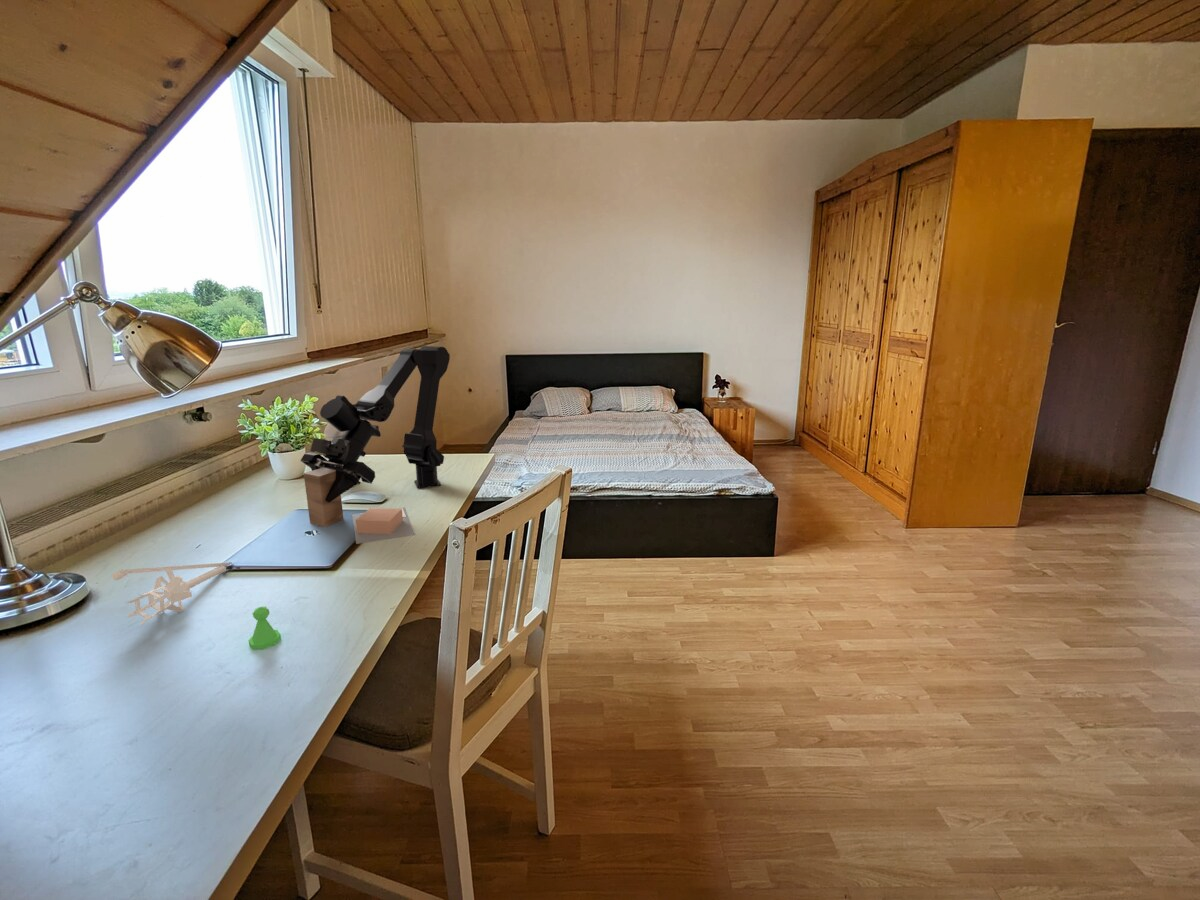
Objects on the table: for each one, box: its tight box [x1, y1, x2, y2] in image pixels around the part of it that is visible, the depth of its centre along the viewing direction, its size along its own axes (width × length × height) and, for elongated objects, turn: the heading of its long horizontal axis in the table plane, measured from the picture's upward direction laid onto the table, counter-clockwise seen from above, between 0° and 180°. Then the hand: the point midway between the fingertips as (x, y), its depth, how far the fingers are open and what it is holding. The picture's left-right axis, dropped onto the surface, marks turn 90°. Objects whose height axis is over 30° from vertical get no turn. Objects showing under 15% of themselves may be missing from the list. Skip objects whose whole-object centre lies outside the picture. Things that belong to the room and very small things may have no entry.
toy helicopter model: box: [111, 561, 233, 626], centre depth 97 cm, size 6×9×25 cm
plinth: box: [356, 507, 403, 534], centre depth 126 cm, size 8×8×3 cm
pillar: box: [303, 468, 344, 528], centre depth 128 cm, size 5×5×13 cm
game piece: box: [248, 606, 282, 650], centre depth 85 cm, size 4×4×6 cm
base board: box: [351, 507, 416, 545], centre depth 128 cm, size 18×12×1 cm, turn 26°
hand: (318, 499), depth 127 cm, fingers closed on pillar, 5 cm apart
